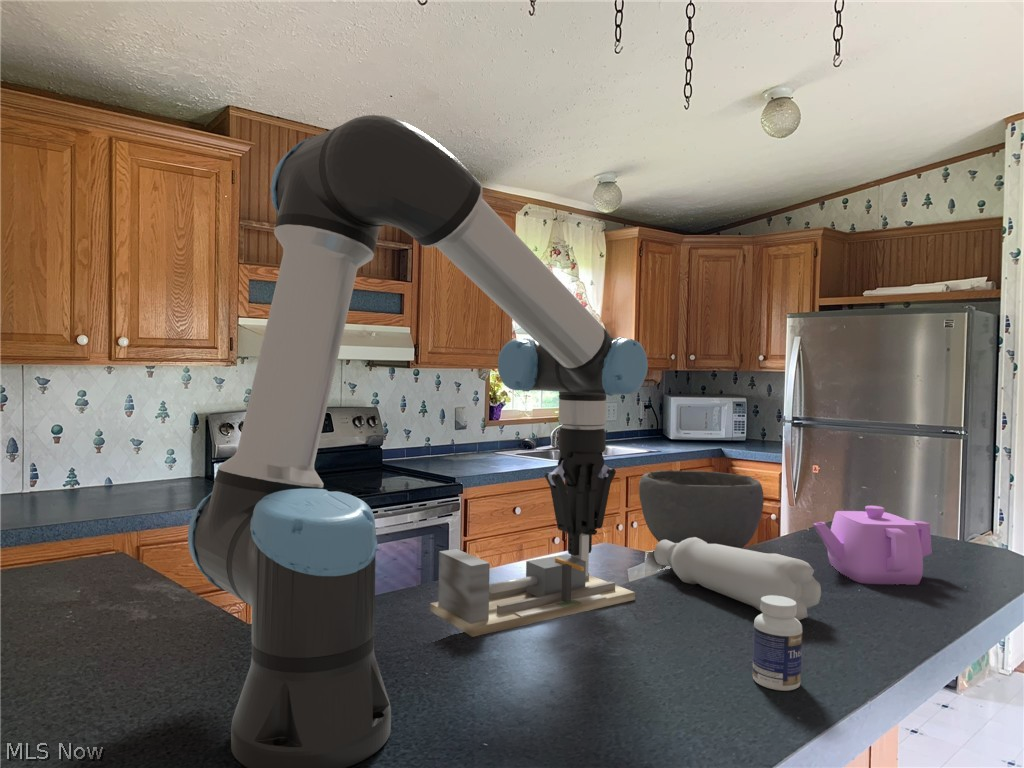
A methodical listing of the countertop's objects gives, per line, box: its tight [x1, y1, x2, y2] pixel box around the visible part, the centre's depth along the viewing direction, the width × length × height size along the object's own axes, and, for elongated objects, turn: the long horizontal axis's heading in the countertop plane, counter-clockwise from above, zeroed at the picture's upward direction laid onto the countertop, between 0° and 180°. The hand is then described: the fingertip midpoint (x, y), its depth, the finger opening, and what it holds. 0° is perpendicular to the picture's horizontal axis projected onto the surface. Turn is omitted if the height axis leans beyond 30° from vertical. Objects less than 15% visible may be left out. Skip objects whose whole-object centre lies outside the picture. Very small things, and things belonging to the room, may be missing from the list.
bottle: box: [653, 537, 822, 621], centre depth 120 cm, size 9×9×30 cm
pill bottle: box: [752, 595, 803, 692], centre depth 87 cm, size 5×5×10 cm
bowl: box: [638, 469, 765, 549], centre depth 148 cm, size 24×24×15 cm
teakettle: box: [812, 505, 933, 586], centre depth 134 cm, size 17×17×12 cm
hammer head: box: [562, 564, 572, 603], centre depth 110 cm, size 1×1×5 cm
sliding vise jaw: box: [489, 554, 586, 597], centre depth 111 cm, size 9×16×5 cm, turn 125°
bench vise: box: [429, 548, 636, 638], centre depth 113 cm, size 12×30×9 cm, turn 125°
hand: (579, 574), depth 118 cm, fingers closed
